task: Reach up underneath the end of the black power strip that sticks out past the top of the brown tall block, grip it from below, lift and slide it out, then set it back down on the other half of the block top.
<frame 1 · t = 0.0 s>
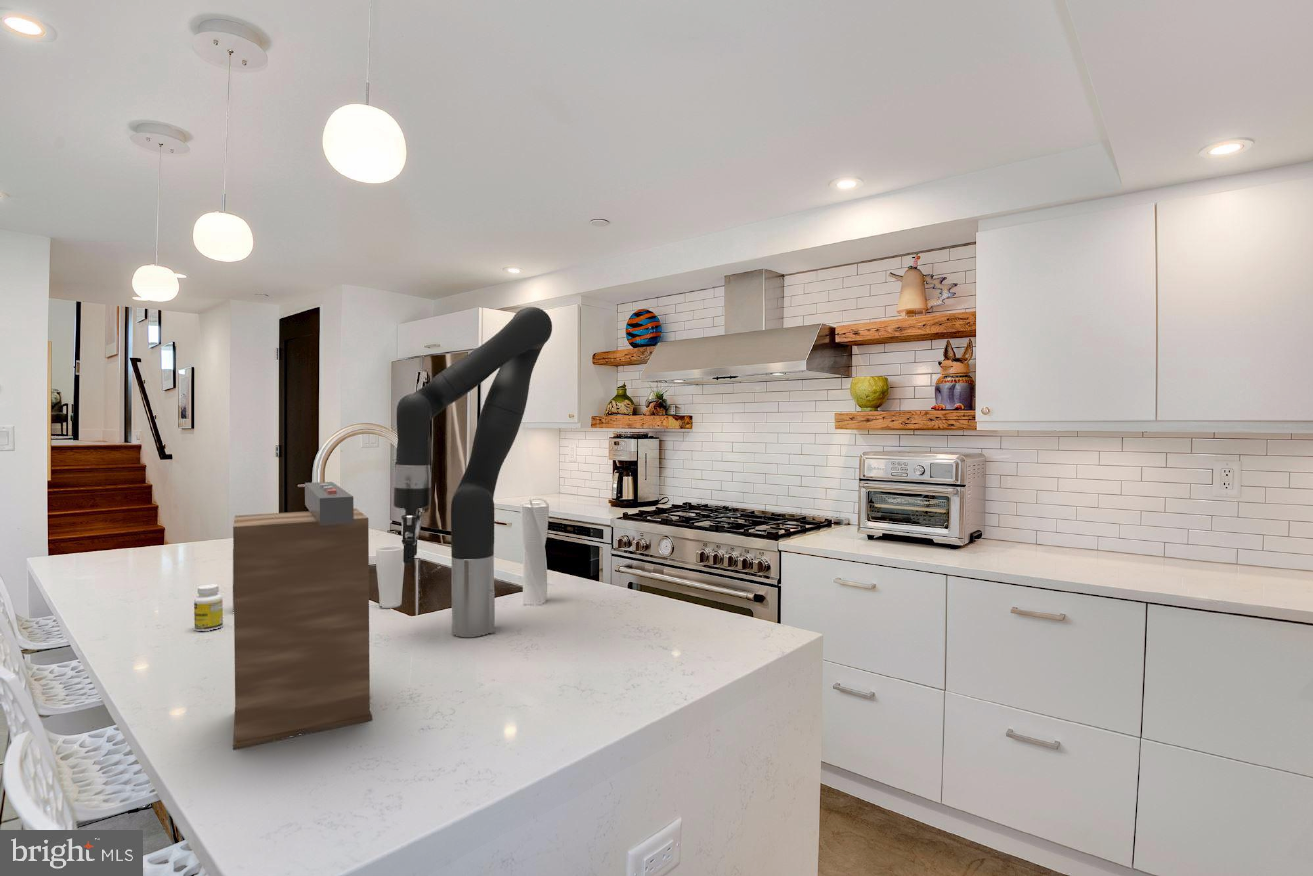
hand: (410, 559, 147), 17 cm above the counter, tool pointing down, fingers open, 8 cm apart
coffee box: (257, 610, 170), on the counter
twisted white column: (534, 603, 176), on the counter
drinking glass: (390, 606, 173), on the counter
brown tall block: (302, 716, 108), on the counter
supplement bottle: (208, 629, 154), on the counter
power strip: (326, 513, 112), point 32 cm above the counter, touching brown tall block
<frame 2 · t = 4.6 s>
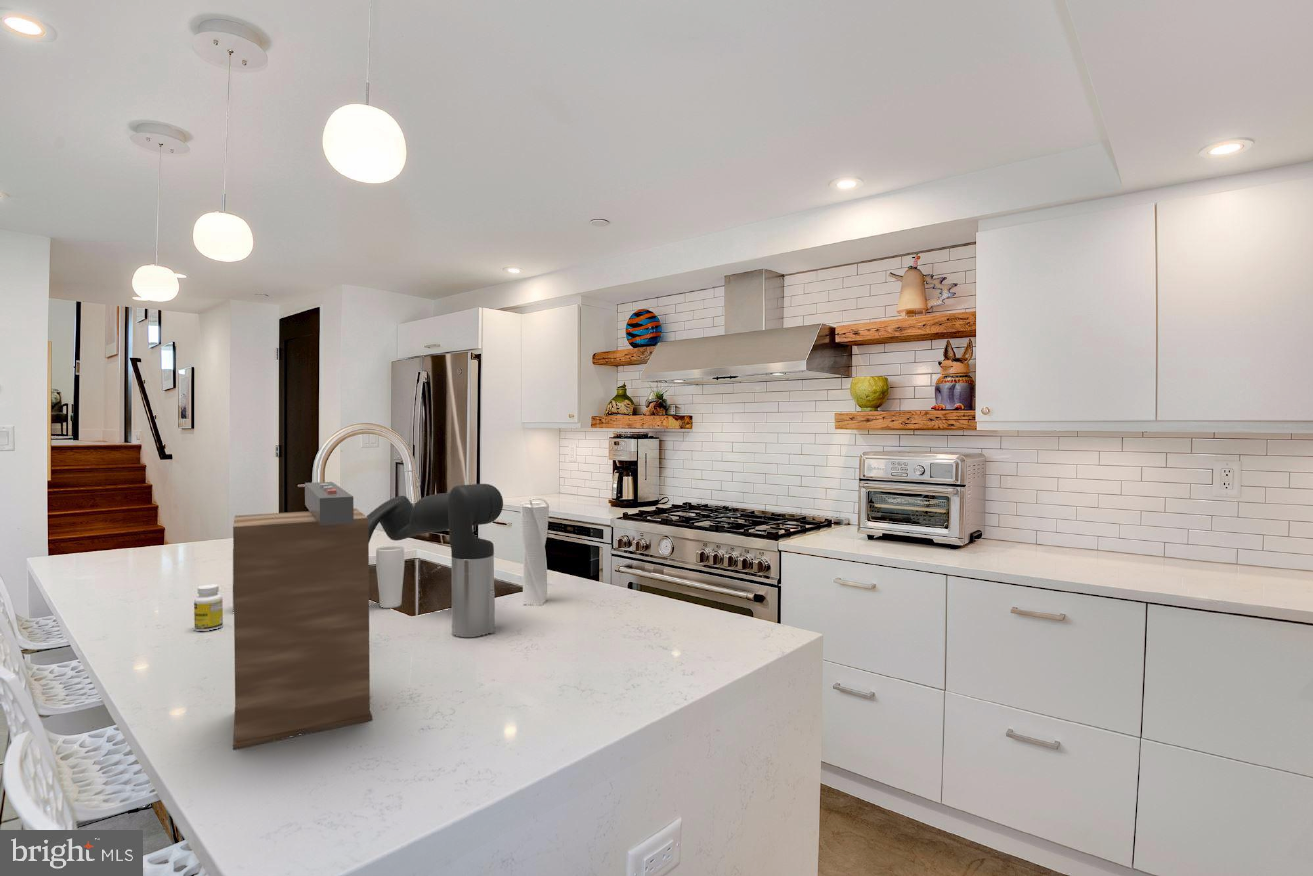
hand: (316, 521, 129), 28 cm above the counter, tool pointing upward, fingers open, 8 cm apart
nothing on the counter moved.
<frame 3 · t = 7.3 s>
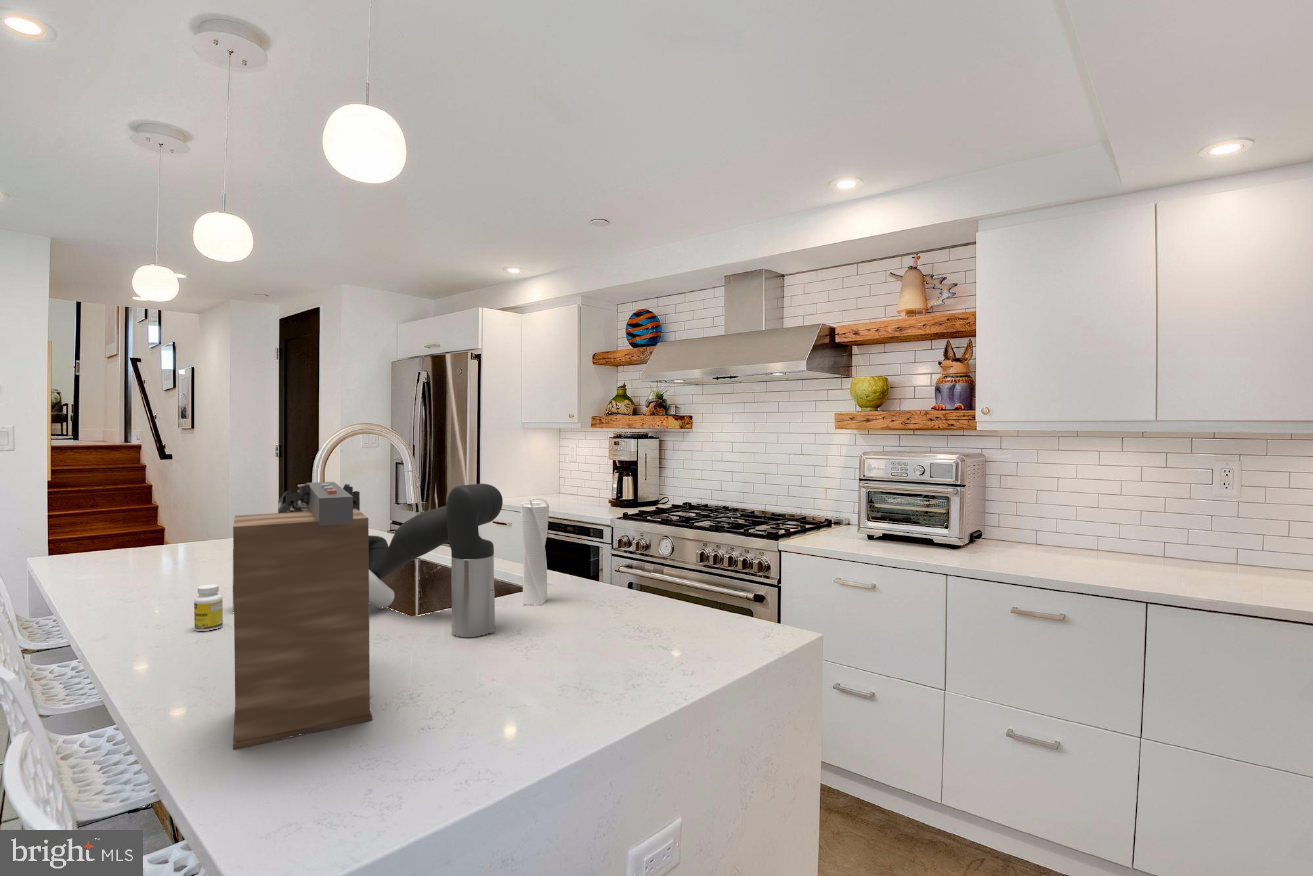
hand: (327, 489, 118), 35 cm above the counter, tool pointing upward, fingers open, 5 cm apart
drinking glass: (386, 599, 172), point 2 cm above the counter, touching arm
power strip: (327, 513, 112), point 32 cm above the counter, touching gripper, brown tall block
everything else where it was.
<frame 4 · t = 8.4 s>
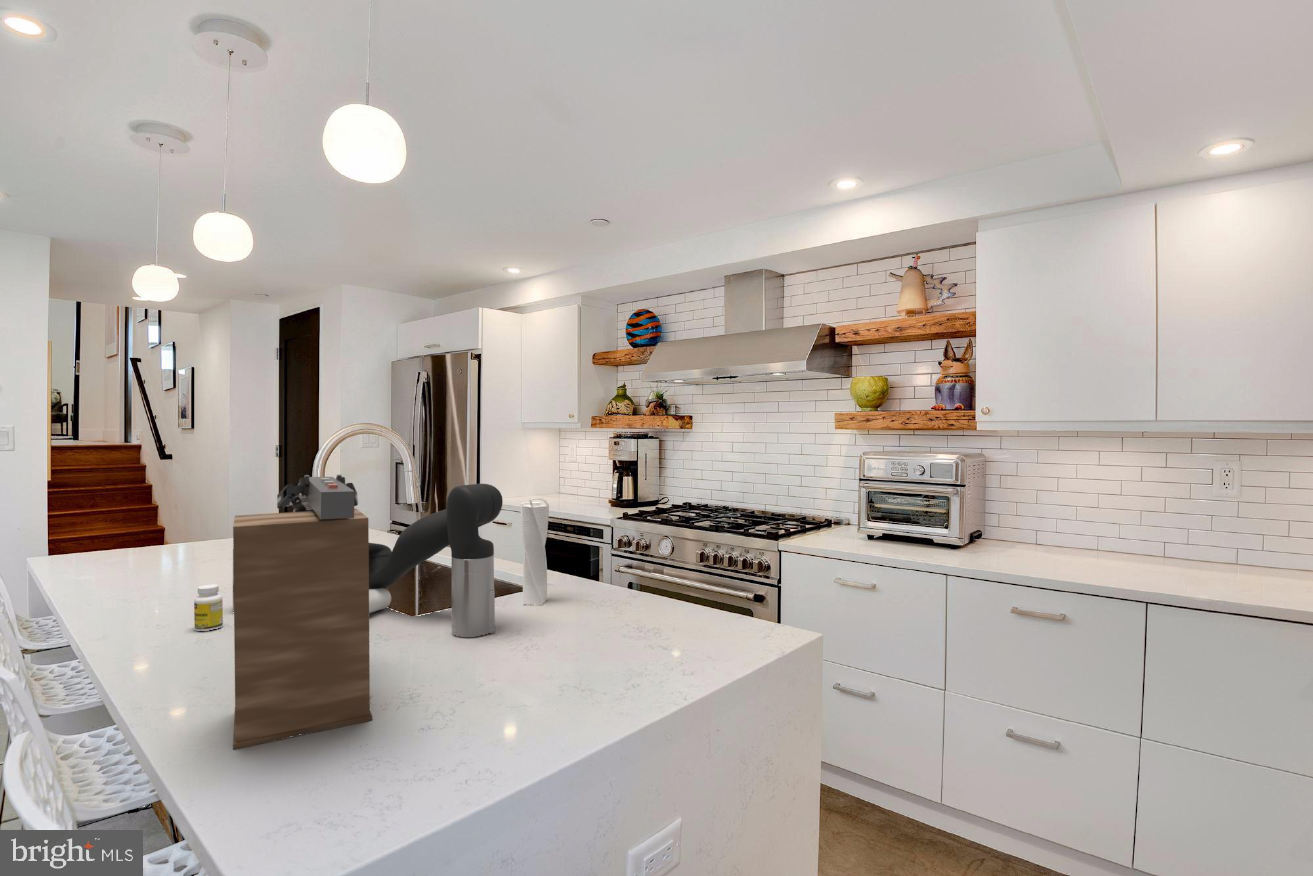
hand: (323, 479, 118), 37 cm above the counter, tool pointing upward, fingers closed on power strip, 4 cm apart
drinking glass: (383, 598, 171), point 3 cm above the counter, touching arm
power strip: (327, 507, 112), point 33 cm above the counter, touching gripper
everything else where it was.
when the fingers open (37 cm above the counter, at t = 12.4 s): power strip stays where it is, resting on brown tall block.
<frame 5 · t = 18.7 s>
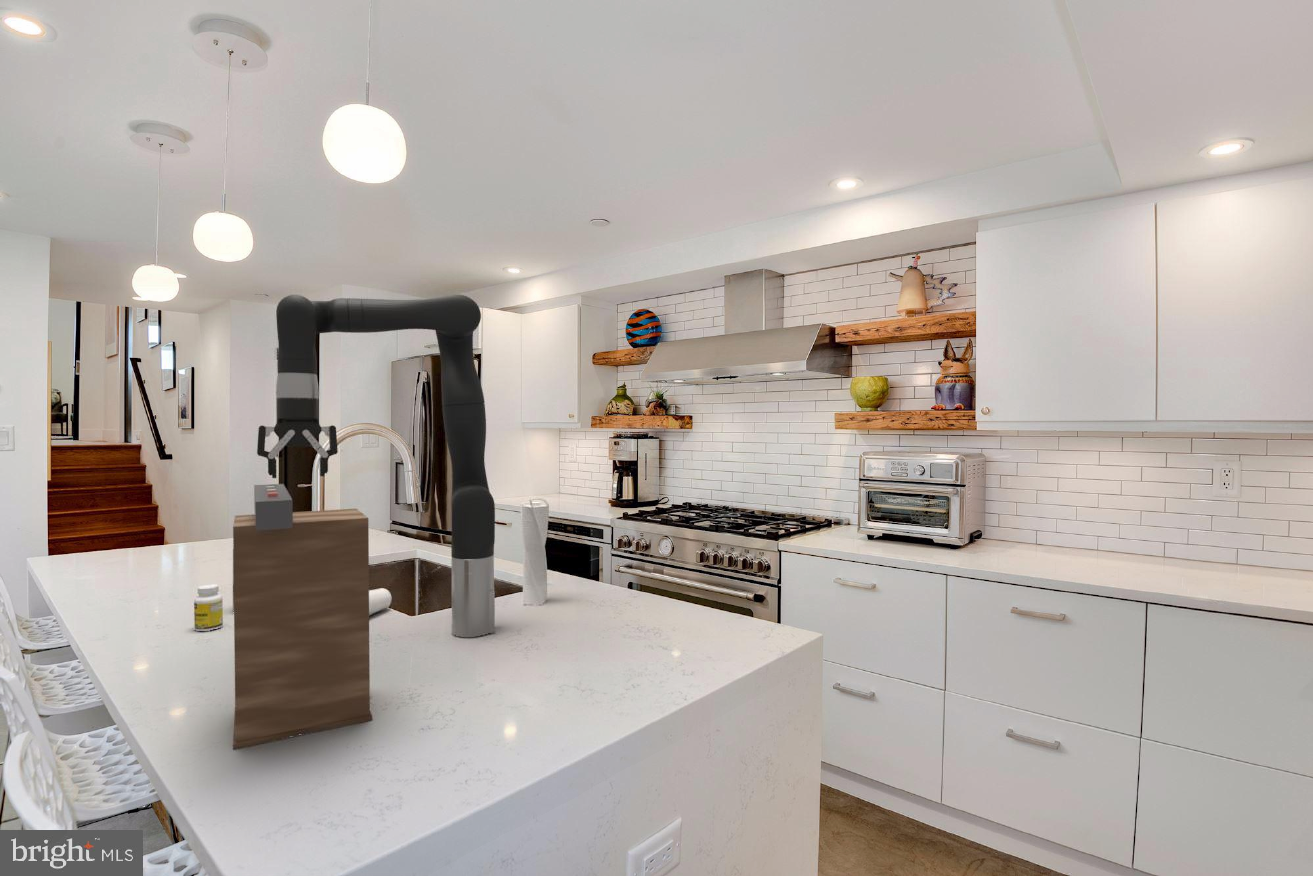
hand: (298, 477, 136), 36 cm above the counter, tool pointing down, fingers open, 8 cm apart
drinking glass: (384, 598, 170), point 3 cm above the counter
power strip: (271, 516, 107), point 32 cm above the counter, touching brown tall block
everything else where it was.
at the end: power strip inside the target area on the brown tall block (1.8 cm from its centre), point 32.0 cm above the brown tall block's base; power strip tilted 0°; the gripper is holding nothing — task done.
